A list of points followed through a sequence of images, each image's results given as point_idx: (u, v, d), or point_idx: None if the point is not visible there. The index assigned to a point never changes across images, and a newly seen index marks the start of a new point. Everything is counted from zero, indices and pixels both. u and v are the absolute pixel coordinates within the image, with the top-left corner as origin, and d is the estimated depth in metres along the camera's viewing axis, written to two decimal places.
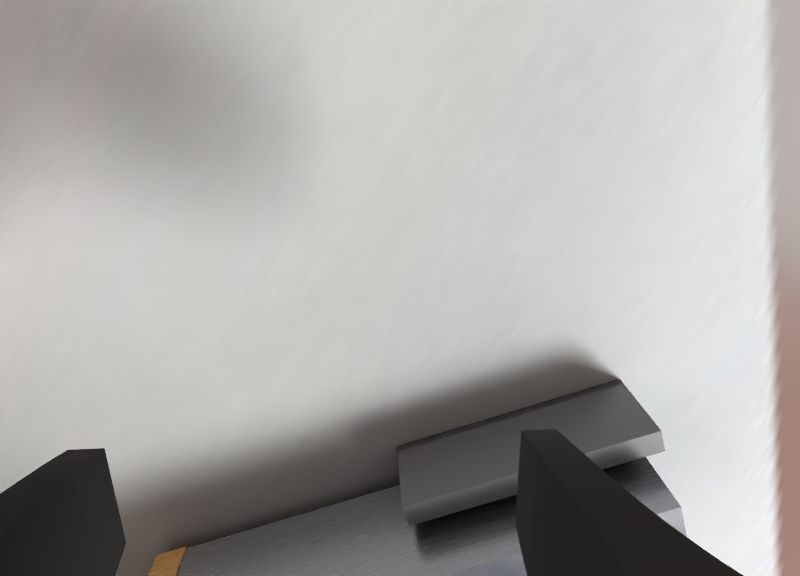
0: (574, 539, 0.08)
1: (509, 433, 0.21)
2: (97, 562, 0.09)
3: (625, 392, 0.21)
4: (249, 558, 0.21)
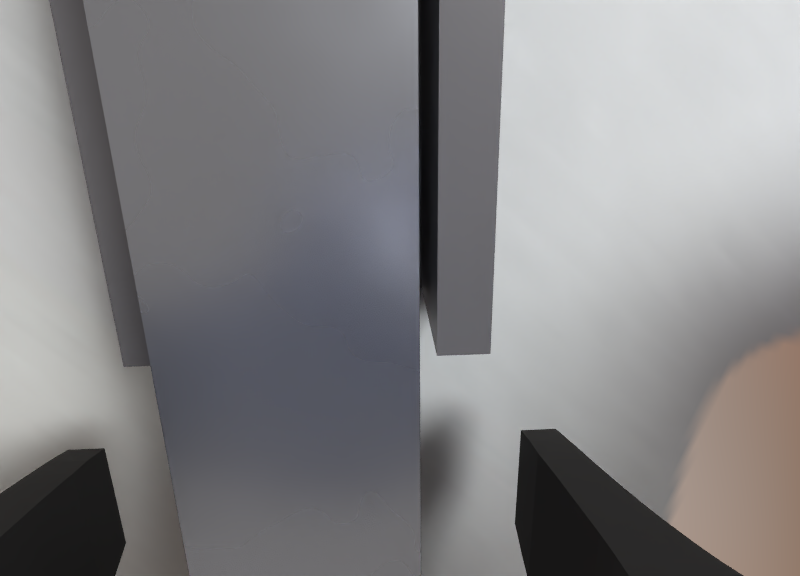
0: (574, 539, 0.08)
1: None
2: (97, 562, 0.09)
3: None
4: None
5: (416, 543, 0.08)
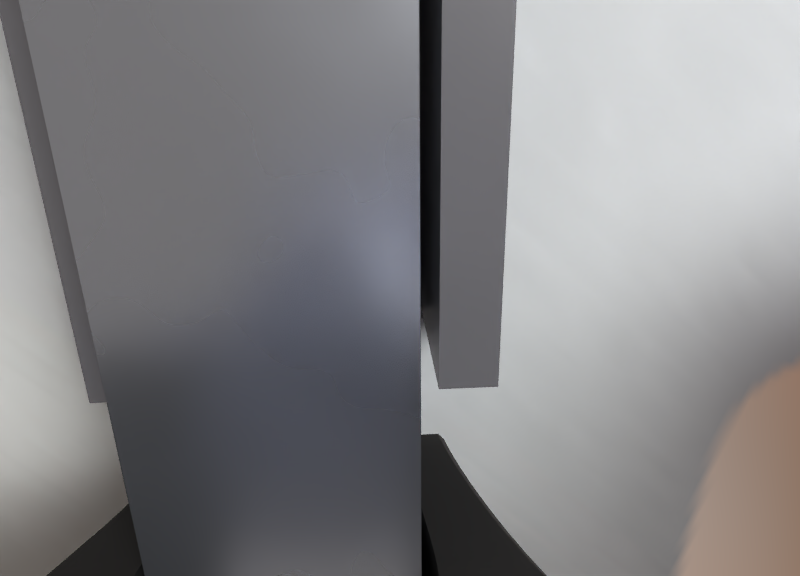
0: (422, 547, 0.08)
1: None
2: None
3: None
4: None
5: None
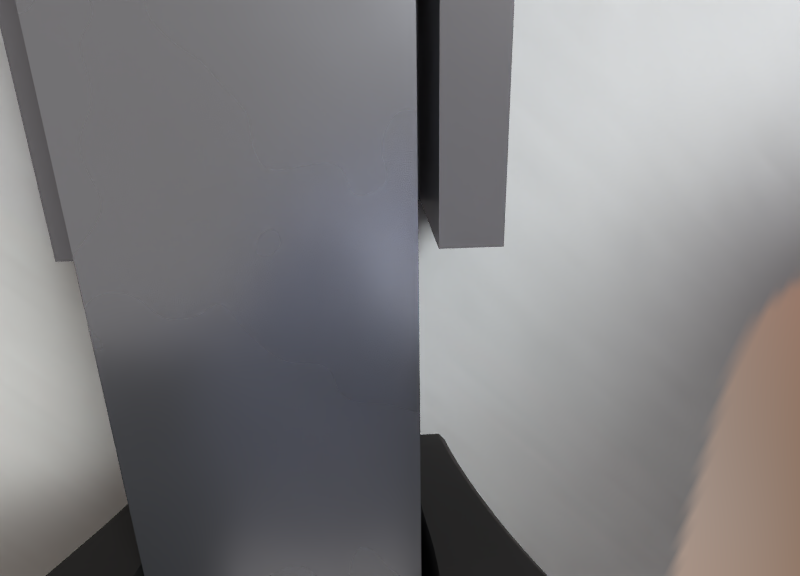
0: (423, 547, 0.08)
1: None
2: None
3: None
4: None
5: None
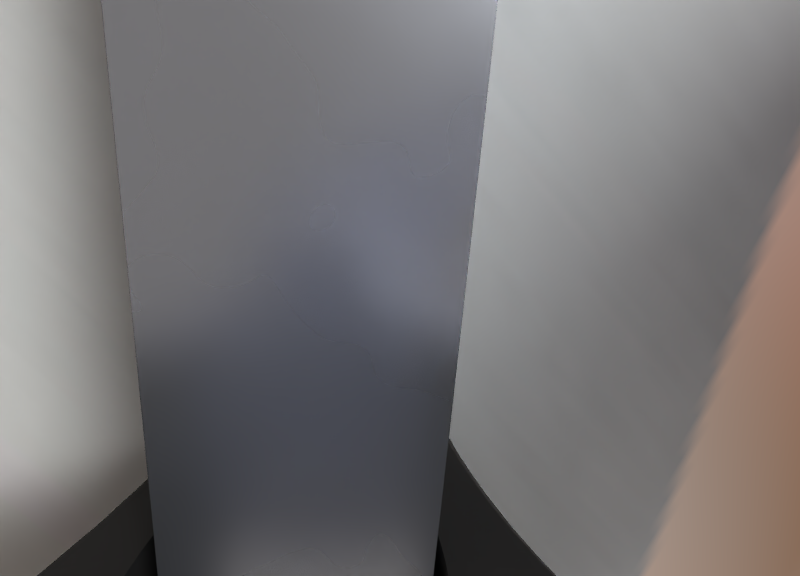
0: None
1: None
2: None
3: None
4: None
5: None
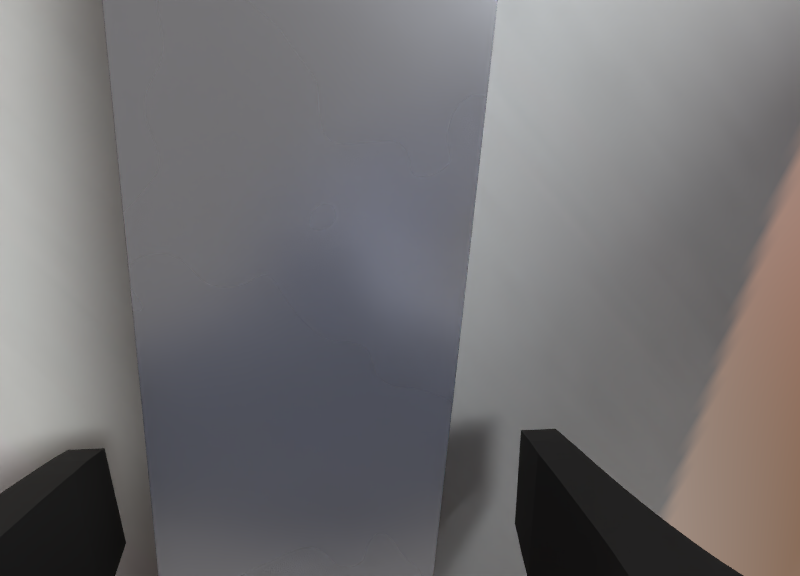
0: (574, 539, 0.08)
1: None
2: (97, 562, 0.09)
3: None
4: None
5: None
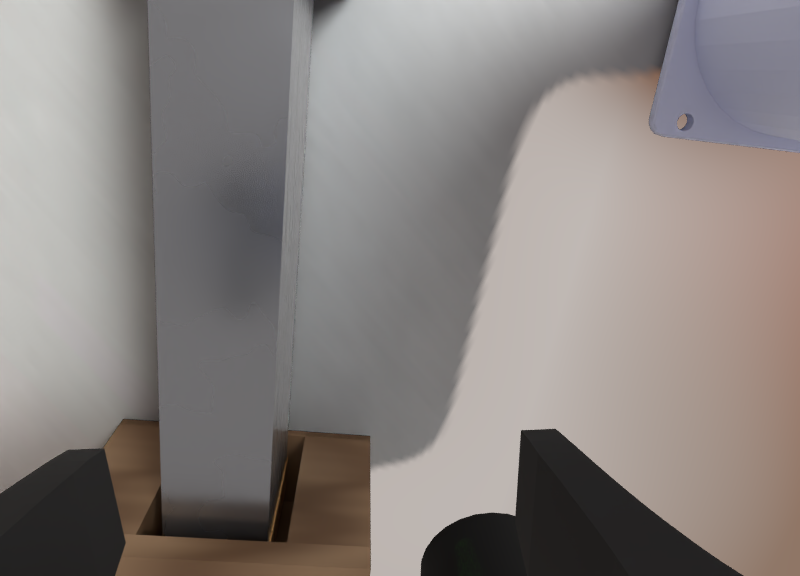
0: (574, 539, 0.08)
1: None
2: (97, 562, 0.09)
3: None
4: None
5: (275, 335, 0.15)
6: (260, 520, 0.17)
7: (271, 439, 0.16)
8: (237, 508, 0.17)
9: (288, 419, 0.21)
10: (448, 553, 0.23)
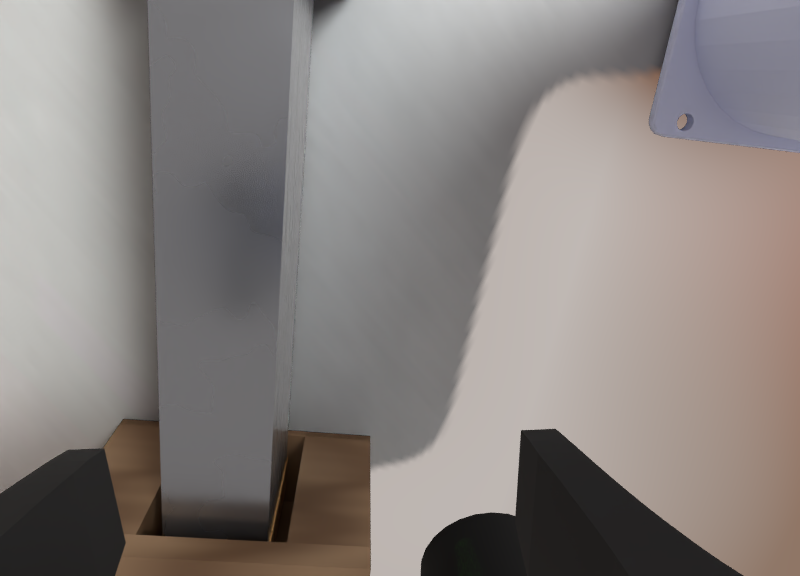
0: (574, 539, 0.08)
1: None
2: (97, 562, 0.09)
3: None
4: None
5: (275, 335, 0.15)
6: (260, 520, 0.17)
7: (271, 439, 0.16)
8: (237, 508, 0.17)
9: (288, 419, 0.21)
10: (448, 553, 0.23)
